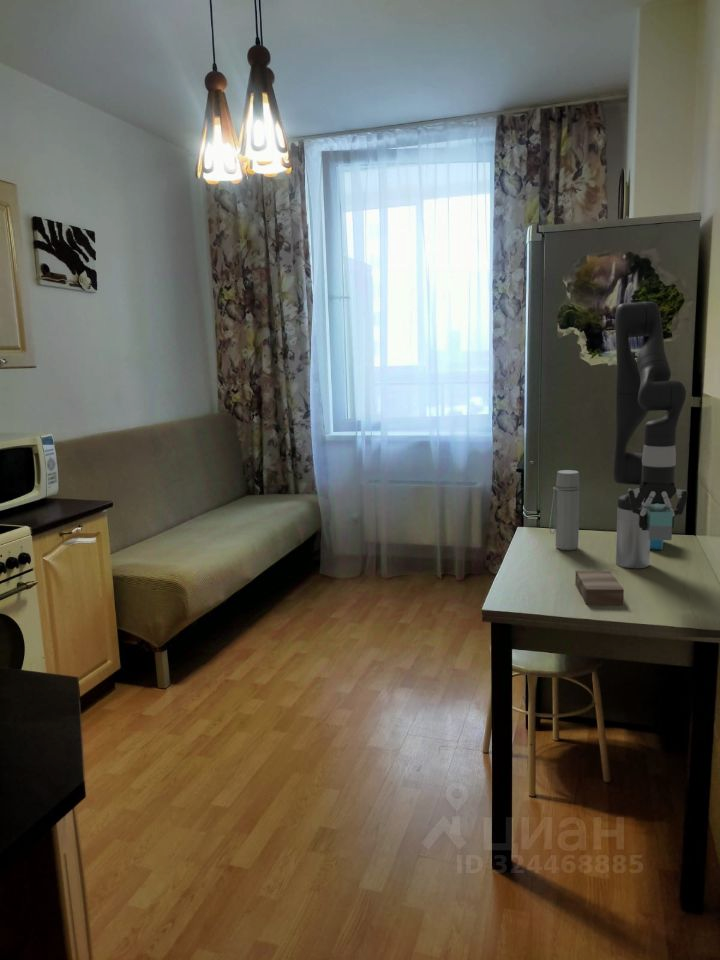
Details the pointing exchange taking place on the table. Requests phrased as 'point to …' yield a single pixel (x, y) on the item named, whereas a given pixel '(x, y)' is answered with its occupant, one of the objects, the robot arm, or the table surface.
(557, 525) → the water bottle
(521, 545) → the table surface
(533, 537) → the table surface
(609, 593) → the walnut stand
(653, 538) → the block
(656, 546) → the data package
